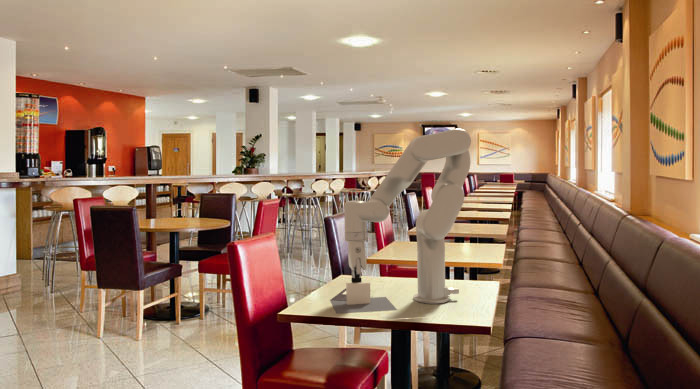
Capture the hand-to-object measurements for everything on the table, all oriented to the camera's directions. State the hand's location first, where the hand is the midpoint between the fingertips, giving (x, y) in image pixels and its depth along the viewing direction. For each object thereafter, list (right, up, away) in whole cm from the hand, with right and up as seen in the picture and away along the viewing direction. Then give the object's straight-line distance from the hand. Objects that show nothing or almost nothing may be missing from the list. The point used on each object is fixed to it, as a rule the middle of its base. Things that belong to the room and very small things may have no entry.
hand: (356, 288), depth 194 cm
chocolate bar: (-2, -5, +9) cm, 11 cm away
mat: (+2, -5, -5) cm, 7 cm away
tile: (+1, -4, -3) cm, 6 cm away
